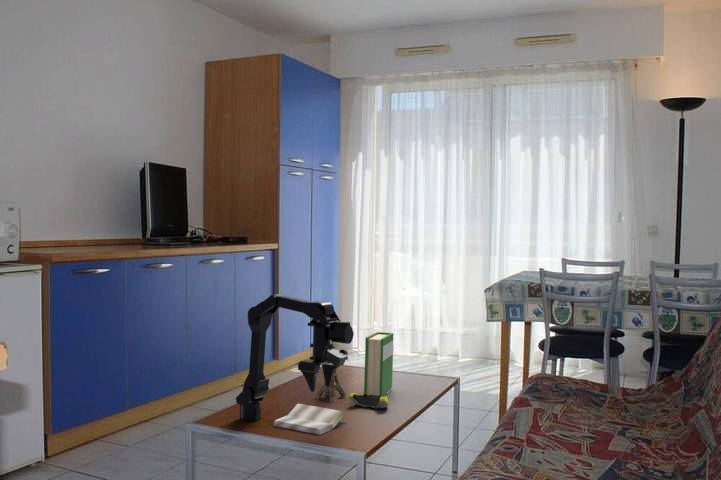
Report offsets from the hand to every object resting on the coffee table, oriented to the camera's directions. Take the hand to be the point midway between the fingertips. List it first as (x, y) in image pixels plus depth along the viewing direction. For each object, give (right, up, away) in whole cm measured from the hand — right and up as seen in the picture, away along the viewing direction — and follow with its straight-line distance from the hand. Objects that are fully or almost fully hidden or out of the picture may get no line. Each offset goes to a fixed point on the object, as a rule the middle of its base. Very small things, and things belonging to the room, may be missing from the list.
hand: (320, 388), depth 212 cm
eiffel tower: (+1, -15, +49) cm, 52 cm away
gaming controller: (+17, -16, +36) cm, 43 cm away
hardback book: (+20, -16, +59) cm, 65 cm away
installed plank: (-6, -15, +5) cm, 17 cm away
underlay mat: (-4, -15, +9) cm, 18 cm away
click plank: (-2, -12, +12) cm, 17 cm away
